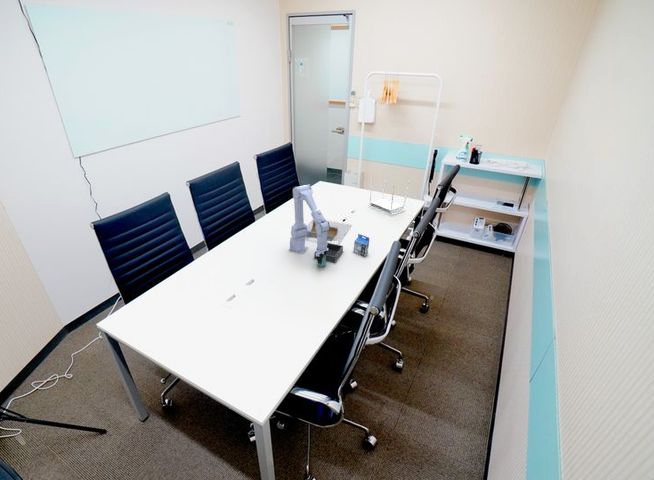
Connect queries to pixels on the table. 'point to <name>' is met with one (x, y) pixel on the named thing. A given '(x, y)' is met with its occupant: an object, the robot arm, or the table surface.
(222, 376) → the table surface
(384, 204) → the router
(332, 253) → the bin
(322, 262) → the bottle
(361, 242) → the label tape box
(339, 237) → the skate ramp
